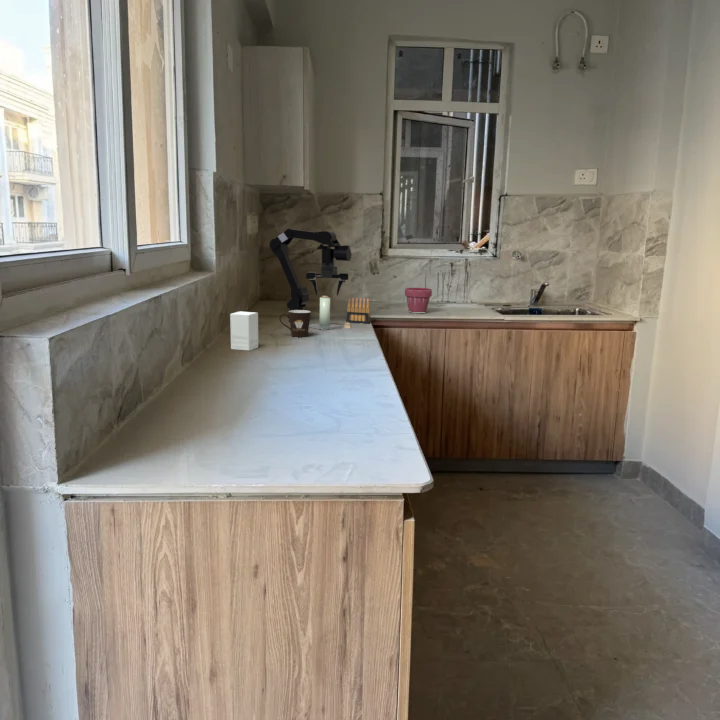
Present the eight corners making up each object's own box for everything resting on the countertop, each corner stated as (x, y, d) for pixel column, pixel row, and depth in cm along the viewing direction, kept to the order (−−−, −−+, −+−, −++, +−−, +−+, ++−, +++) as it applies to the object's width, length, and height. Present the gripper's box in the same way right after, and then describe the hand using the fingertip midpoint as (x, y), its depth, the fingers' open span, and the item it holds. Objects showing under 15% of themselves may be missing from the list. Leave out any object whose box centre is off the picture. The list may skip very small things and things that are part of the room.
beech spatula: (350, 328, 268) (350, 326, 268) (344, 328, 268) (344, 326, 268) (350, 323, 281) (350, 322, 281) (344, 323, 281) (344, 321, 281)
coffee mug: (314, 336, 246) (314, 311, 244) (303, 339, 238) (303, 313, 236) (289, 333, 250) (289, 308, 248) (277, 336, 243) (278, 311, 241)
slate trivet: (306, 326, 268) (306, 324, 267) (325, 324, 275) (325, 322, 275) (323, 330, 260) (323, 328, 260) (342, 328, 268) (342, 325, 267)
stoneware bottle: (319, 325, 265) (319, 296, 262) (319, 324, 270) (320, 295, 267) (329, 326, 265) (330, 296, 263) (329, 324, 270) (330, 295, 267)
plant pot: (399, 312, 325) (400, 288, 322) (411, 310, 337) (412, 286, 334) (423, 315, 318) (424, 290, 315) (435, 312, 329) (436, 288, 327)
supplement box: (259, 347, 219) (259, 312, 216) (248, 351, 212) (248, 314, 209) (240, 345, 221) (240, 310, 218) (229, 349, 214) (229, 313, 211)
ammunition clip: (369, 323, 284) (370, 297, 281) (368, 324, 282) (369, 298, 280) (347, 322, 286) (347, 296, 284) (346, 322, 284) (346, 296, 282)
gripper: (305, 260, 264) (305, 296, 267) (348, 261, 264) (347, 297, 268) (307, 259, 275) (306, 294, 278) (348, 260, 275) (347, 295, 278)
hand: (327, 295), depth 275 cm, fingers open, 9 cm apart
